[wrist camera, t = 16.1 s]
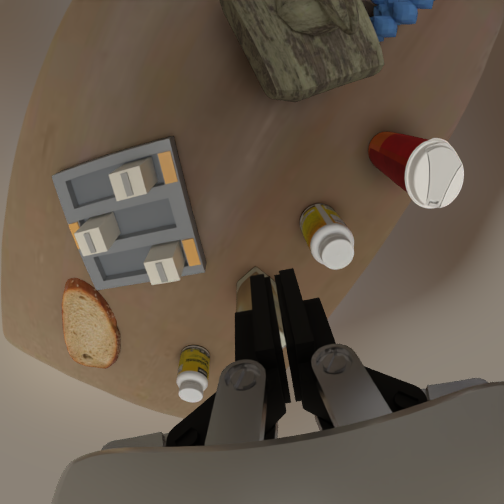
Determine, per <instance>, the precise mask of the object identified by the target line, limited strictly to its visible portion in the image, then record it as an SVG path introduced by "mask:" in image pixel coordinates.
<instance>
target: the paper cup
mask: <svg viewBox="0 0 504 504" xmlns="http://www.w3.org/2000/svg"><path fill="white" fill-rule="evenodd" d="M368 153H369V158H370V160H371V162H372V163H373V164H374V165H375V166H376V167H377V168H378V169H379V170H380V171H381V172H383V173H384V174H385V175H386V176H388V177H389V178H390V179H391V180H392V181H394V182H395V183H396V184H397V185H398V186H400V187H401V188H402V189H403V190H405V191H406V192H407V193H408V194H409V196H410V198H411V199H412V200H413V201H414V202H415V203H416V204H417V205H419V206H421V207H424V208H436V207H438V208H441V207H444V206H446V205H448V204H450V203H451V202H452V201H453V200H454V199H455V198H456V197H457V195H458V194H459V192H460V190H461V187H462V184H463V178H464V170H463V165H462V162H461V161H460V158H459V157H458V155H457V153H456V152H455V150H454V149H453V148H452V147H451V146H450V144H449V143H448V142H447V141H445V140H443V139H439V138H433V139H430V140H427V139H422V138H418V137H414V136H409V135H404V134H399V133H393V132H381V133H379V134H377V135H375V136H374V137H373V139H372V140H371V142H370V144H369V149H368Z"/></svg>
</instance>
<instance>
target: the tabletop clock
mask: <svg viewBox="0 0 504 504" xmlns="http://www.w3.org/2000/svg"><path fill="white" fill-rule="evenodd" d="M220 3H221V6H222V9H223V12H224V14H225V16H226V18H227V20H228V22H229V24H230V26H231V28H232V30H233V31H234V33H235V35H236V37H237V39H238V41H239V43H240V45H241V47H242V49H243V51H244V53H245V55H246V57H247V59H248V61H249V63H250V65H251V67H252V69H253V71H254V73H255V75H256V77H257V79H258V81H259V83H260V85H261V86H262V88H263V90H264V92H265V94H266V95H267V96H268V97H269V98H272V99H276V100H283V101H290V102H297V101H301V100H303V99H306V98H308V97H311V96H314V95H317V94H319V93H322V92H325V91H328V90H331V89H333V88H336V87H339V86H342V85H345V84H348V83H351V82H354V81H358V80H361V79H364V78H367V77H370V76H374V75H375V74H377V73H378V72H380V70H381V69H382V67H383V66H384V60H383V55H382V50H381V46H380V43H379V40H378V37H377V35H376V32H375V29H374V27H373V25H372V22H371V20H370V18H369V15H368V13H367V11H366V9H365V7H364V4H363V2H362V0H220Z"/></svg>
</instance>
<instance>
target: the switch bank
mask: <svg viewBox="0 0 504 504" xmlns="http://www.w3.org/2000/svg"><path fill="white" fill-rule="evenodd" d="M147 157H152V161H153V164H154V168H155V172H156V176H157V179H158V181H157V183H156V184H155V185H154V186H153V187H152V188H151V190H150V191H149V192H148V193H147V194H144V195H140V196H136V197H132V198H128V199H124V200H120V201H116V197H115V194H114V191H113V188H112V185H111V181H110V178H109V174H110V173H112V172H113V171H114V170H116V169H117V168H119V167H120V166H122V165H123V164H126V163H129V162H133V161H136V160H140V159H144V158H147ZM52 179H53V182H54V185H55V188H56V191H57V194H58V197H59V200H60V203H61V206H62V209H63V211H64V214H65V217H66V219H67V222H68V225H69V228H70V230H71V233H72V235H73V238H74V240H75V243H76V245H77V248H78V250H79V252H80V255H81V257H82V259H83V262H84V264H85V266H86V268H87V271H88V273H89V275H90V277H91V280H92V282H93V284H94V286H95V288H96V290H101V289H108V288H114V287H120V286H126V285H132V284H138V283H144V282H150V279H149V276H148V274H147V271H146V269H145V266H144V261H145V259H146V257H147V255H148V253H149V251H150V249H151V247H152V245H155V244H160V243H165V242H171V241H176V240H180V242H181V245H182V249H183V252H184V255H185V258H186V261H185V264H184V268H183V272H182V275H181V276H186V275H192V274H198V273H203V272H205V268H206V260H205V256H204V252H203V249H202V245H201V242H200V238H199V234H198V231H197V227H196V223H195V220H194V216H193V212H192V208H191V204H190V201H189V197H188V193H187V189H186V185H185V181H184V177H183V173H182V169H181V165H180V161H179V157H178V153H177V148H176V144H175V140H174V136H170V137H167V138H163V139H159V140H155V141H151V142H148V143H144V144H141V145H137V146H134V147H130V148H127V149H124V150H121V151H117V152H114V153H111V154H108V155H105V156H102V157H99V158H96V159H93V160H90V161H87V162H84V163H81V164H78V165H76V166H73V167H70V168H67V169H65V170H62V171H60V172H58V173H56V174H54V175H53V176H52ZM109 212H113V213H114V216H115V218H116V221H117V224H118V227H119V230H120V235H119V236H118V237H117V239H116V240H115V242H114V243H113V244H112V246H111V247H110V248H109V250H108V251H106V252H101V253H97V254H92V255H88V256H83V255H82V253H81V250H80V248H79V245H78V243H77V240H76V238H75V235H74V233H75V232H76V231H77V230H78V229H79V228H80V227H81V226H82V225H83V224H84V223H85V222H86V221H87V220H88V219H89V218H90V217H94V216H98V215H101V214H105V213H109Z"/></svg>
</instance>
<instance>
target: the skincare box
mask: <svg viewBox="0 0 504 504" xmlns="http://www.w3.org/2000/svg"><path fill="white" fill-rule="evenodd" d="M258 274H264V277H269V276H267V275H266V274H265V273H264V272H262V271H261V270H260V269H259V268H257V267H254V268H253V269H252V270H251V271H249V272H248V273H247V274H246V275H245V276H244V277H243V278H241V279H240V280H239V281H238V282H237V297H236V312H240V311H247V310H252V301H251V287H250V276H253V275H258ZM270 280H271V286H272V291H273V297H274V303H275V309H276V315H277V320H278V326H279V332H280V338H281V344H282V349H283V348H284V347H285V346H286V343H285V337H284V332H283V326H282V319H281V313H280V307H279V301H278V295H277V289H276V283H275V281H273V280H272V279H271V278H270Z"/></svg>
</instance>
